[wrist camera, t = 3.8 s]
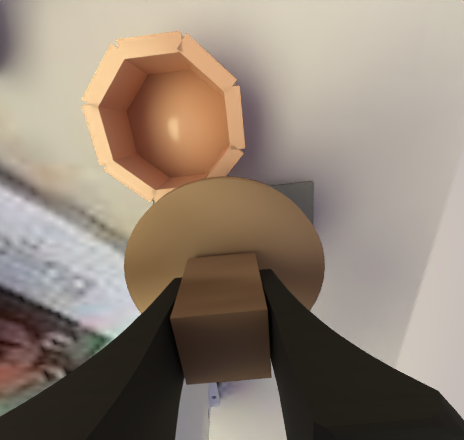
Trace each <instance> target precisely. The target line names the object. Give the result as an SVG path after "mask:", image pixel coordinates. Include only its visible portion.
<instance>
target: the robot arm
mask: <svg viewBox="0 0 464 440" xmlns="http://www.w3.org/2000/svg"><path fill="white" fill-rule="evenodd" d="M259 273H260V278H261V282H262V287H263V291H264V296H265V300H266V305H267V309H268V326H269V343H270V358H271V362H272V366H273V370H274V374H275V378H276V381H277V386H278V390H279V395H280V401H281V407H282V412H283V418H284V424H285V430H286V436H287V440H464V420H463V419H462V418H461V416H460V415H459V414H458V413H457V411H456V410H455V409H454V408H453V407H452V406H451V405H450V404H449V403H448V401H447V400H446V399H445V398H444V397H443V396H442V395H441V394H440V392H439V391H437V390H435V389H433V388H431V387H429V386H427V385H425V384H423V383H421V382H419V381H417V380H415V379H414V378H412V377H410V376H408V375H405V374H404V373H402V372H400V371H398V370H396V369H394V368H392V367H390V366H388V365H387V364H385V363H383V362H382V361H380V360H378V359H376V358H375V357H373V356H371V355H369V354H368V353H366V352H365V351H363V350H361V349H360V348H358V347H357V346H355V345H354V344H352V343H351V342H349V341H348V340H346V339H345V338H343V337H342V336H340V335H339V334H337V333H336V332H335V331H333V330H332V329H331V328H329V327H328V326H327V325H326V324H324V323H323V322H322V321H321V320H319V319H318V318H317V317H316V316H315V315H314V314H312V313H311V312H310V311H309V310H308V309H307V308H306V307H305V306H304V305H303V304H302V303H301V302H300V301H299V300H298V299H297V298H296V297H295V296H294V295H293V294H292V293H291V292H290V291H289V290H288V289H287V288H286V286H285V285H284V284H283V283H282V282H281V280H280V279H279V278H278V277H277V275H276V274H275V273H274V271H273V270H272V269H263V270H259ZM181 280H182V277H180V278H174V279H173V280H172V281H171V282H170V283H169V285H168V286H167V287H166V288H165V289H164V290H163V291H162V292H161V294H160V295H159V296H158V297H157V298H156V299H155V300H154V301H153V302H152V304H151V305H150V306H149V307H148V308H147V309H146V310H145V311H144V312H143V313H142V314H141V315H140V316H139V317H138V318H137V319H136V320H135V321H134V322H133V323H132V324H131V325H130V326H129V327H128V328H127V329H125V330H124V331H123V332H122V333H121V334H120V335H119V336H118V337H116V338H115V339H114V340H113V341H112V342H110V343H109V344H108V345H107V346H106V347H104V348H103V349H102V350H101V351H99V352H98V353H97V354H95V355H94V356H93V357H91V358H90V359H89V360H87V361H86V362H85V363H83V364H82V365H81V366H79V367H78V368H77V369H75V370H74V371H72V372H71V373H70V374H68V375H67V376H65V377H64V378H62V379H61V380H59V381H58V382H56V383H55V384H53V385H52V386H50V387H49V388H47V389H45V390H44V391H42V392H41V393H39V394H38V395H36V396H34V397H33V398H31V399H30V400H28V401H26V402H25V403H23V404H21V405H19V406H18V407H16V408H14V409H13V410H11V411H9V412H7V413H6V414H4V415H2V416H1V417H0V440H209V425H210V409H211V407H214V406H218V405H219V404H220V398H219V393H218V388H217V383H216V382H215V383H203V384H192V385H186V381H185V377H184V373H183V369H182V365H181V361H180V357H179V353H178V349H177V345H176V341H175V337H174V333H173V329H172V324H171V320H170V317H171V314H172V310H173V307H174V304H175V300H176V297H177V294H178V290H179V287H180V284H181Z"/></svg>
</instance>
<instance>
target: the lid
mask: <svg viewBox="0 0 464 440" xmlns="http://www.w3.org/2000/svg"><path fill="white" fill-rule="evenodd" d="M263 269H272V270H273V271H274V273H275V274H276V275H277V277H278V278H279V279H280V280H281V282H282V283H283V284H284V285H285V286H286V288H287V289H288V290H289V291H290V292H291V293H292V294H293V295H294V296H295V297H296V298H297V299H298V300H299V301H300V302H301V303H302V304H303V305H304V306H305V307H306V308H307V309H308V310H309V311H310V310H311V308H312V306H313V305H314V303H315V301H316V300H317V297H318V295H319V293H320V290H321V287H322V283H323V279H324V270H325V263H324V253H323V248H322V244H321V242H320V239H319V236H318V234H317V232H316V230H315V228H314V226H313V225H312V223H311V222H310V221H309V219H308V218H307V217H306V215H305V214H304V213H303V212H302V211H301V209H300V208H299V207H298V206H297V205H296V204H295V203H294V202H293V201H291V200H290V199H289V198H288V197H286V196H285V195H284V194H282V193H281V192H279V191H278V190H276V189H274V188H272V187H270V186H268V185H266V184H263V183H260V182H258V181H255V180H250V179H246V178H241V177H230V176H221V177H209V178H204V179H199V180H195V181H192V182H189V183H186V184H184V185H182V186H179V187H177V188H175V189H173V190H172V191H170V192H169V193H167V194H166V195H164V196H163V197H161V198H160V199H159V200H158V201H157V202H156V203H155V204H153V205H152V206H151V207H150V209H149V210H148V211H147V212H146V213H145V214H144V215H143V217H142V218H141V219H140V220H139V222H138V223H137V225H136V226H135V228H134V230H133V231H132V234H131V236H130V238H129V241H128V244H127V248H126V252H125V260H124V271H125V279H126V284H127V288H128V290H129V293H130V296H131V298H132V300H133V302H134V303H135V305H136V307H137V308H138V310H139V311H140V312H141V314H142V313H143V312H144V311H145V310H146V309H147V308H148V307H149V306H150V305H151V304H152V302H153V301H154V300H155V299H156V298H157V297H158V296H159V295H160V294H161V292H162V291H163V290H164V289H165V288H166V287H167V286H168V285H169V283H170V282H171V281H172V280H173V279H174V278H180V277H182V280H181V284H180V287H179V290H178V294H177V297H176V300H175V304H174V307H173V310H172V314H171V317H170V320H171V324H172V329H173V333H174V337H175V341H176V345H177V349H178V353H179V357H180V361H181V365H182V369H183V373H184V377H185V381H186V385H192V384H203V383H215V382H227V381H238V380H250V379H261V378H272V377H271V360H270V343H269V326H268V309H267V305H266V300H265V296H264V291H263V287H262V282H261V278H260V273H259V270H263Z"/></svg>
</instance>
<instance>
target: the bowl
mask: <svg viewBox="0 0 464 440" xmlns="http://www.w3.org/2000/svg"><path fill="white" fill-rule="evenodd" d="M116 41H117V46H118V48H117V47H116V46H115V45H113V44H112V43H111V44H110V46H109V48H108V50H107V52H106V53H105V55H104V57H103V59H102V61H101V63H100V65H99V67H98V69H97V71H96V73H95V75H94V76H93V78H92V80H91V82H90V84H89V86H88V88H87V90H86V92H85V94H84V96H83V97H82V100H84V101H85V102H86V103H88V104H87V105H81V106H82V109H83V112H84V116H85V119H86V122H87V125H88V129H89V132H90V135H91V138H92V142H93V145H94V148H95V152H96V155H97V158H98V161H99V165H106V166H105V168H104V171H105V172H107V173H108V174H110V175H111V176H112V177H114V178H115V179H117V180H118V181H120V182H121V183H123V184H124V185H126V186H127V187H128V188H130V189H131V190H133V191H134V192H136V193H137V194H139V195H140V196H141V197H143V198H144V199H146V200H147V201H149V202H151V201H152V200H153V199H154V201H155V203H156V202H157V201H158V200H159V199H160V198H161V197H163V196H164V195H166V194H167V193H169V192H170V191H172V190H173V189H175V188H177V187H179V186H182V185H184V184H186V183H189V182H192V181H195V180H199V179H204V178H209V177H221V176H226V175H227V174H228V173H229V172H230V170H231V169H232V168H233V167H234V165H235V164H236V163H237V161H238V160H239V159H240V158H241V156H242V155H243V154H244V153H243V152H242V150H241V149H243V148H245V140H244V129H243V117H242V106H241V95H240V86H236V82H237V79H236V78H235V77H233V76H232V75H231V74H230V73H229V72H228V71H227V70H226V69H225V68H224V67H223V66H222V65H220V64H219V63H218V62H217V61H216V60H215V59H214V58H213V57H212V56H211V55H210V54H209V53H207V52H206V51H205V50H204V49H203V48H202V47H201V46H200V45H199V44H198V43H197V42H195V41H194V40H193V39H192V38H191V37H190V36H189V35H188V34H187V33H186V34H185V36H184V38H183V36H182V34H181V32H180V31H176V32H168V33H160V34H153V35H145V36H137V37H130V38H122V39H116Z"/></svg>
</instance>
